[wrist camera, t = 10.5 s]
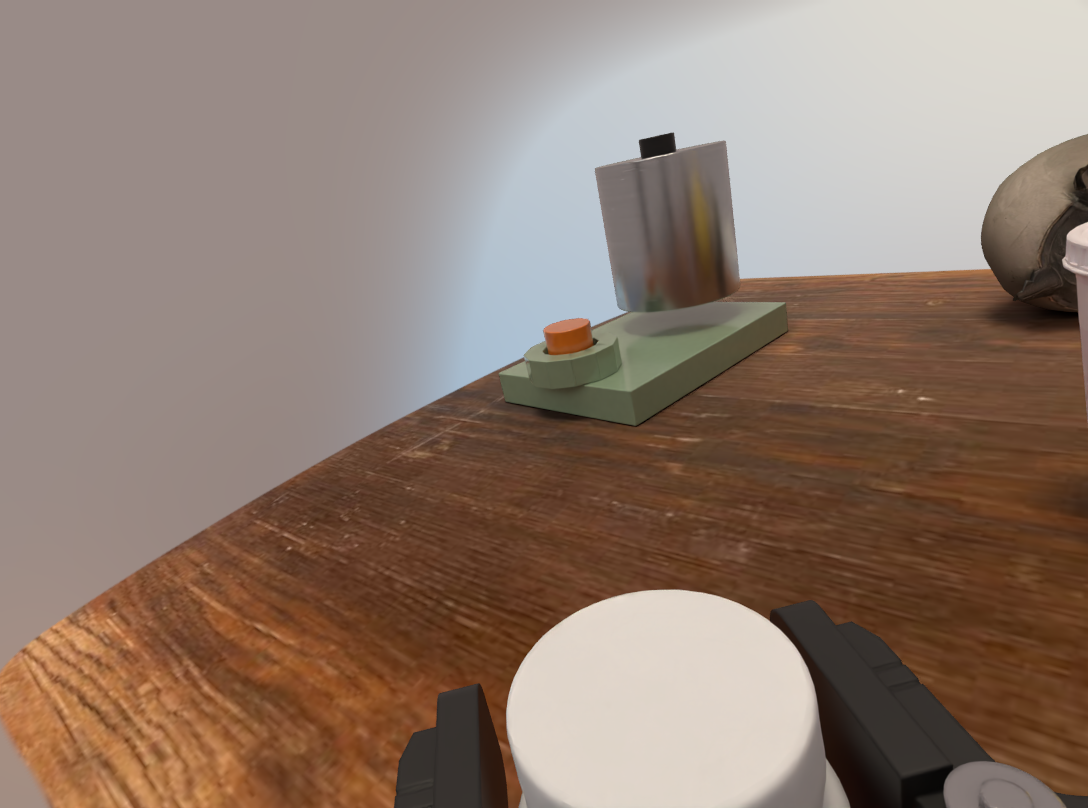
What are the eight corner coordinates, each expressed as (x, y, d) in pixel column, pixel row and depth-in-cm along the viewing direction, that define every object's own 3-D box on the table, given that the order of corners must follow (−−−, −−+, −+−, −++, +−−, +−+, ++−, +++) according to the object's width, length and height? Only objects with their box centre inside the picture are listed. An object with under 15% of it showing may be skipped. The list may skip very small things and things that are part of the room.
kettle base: (622, 435, 37) (610, 368, 35) (491, 408, 46) (478, 354, 44) (788, 330, 48) (784, 277, 47) (658, 325, 57) (651, 280, 56)
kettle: (693, 314, 43) (670, 132, 39) (593, 311, 49) (565, 156, 45) (763, 278, 48) (749, 115, 44) (665, 280, 55) (645, 139, 51)
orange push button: (571, 360, 40) (566, 333, 39) (539, 357, 42) (533, 331, 41) (604, 345, 42) (599, 318, 41) (571, 342, 44) (566, 317, 43)
